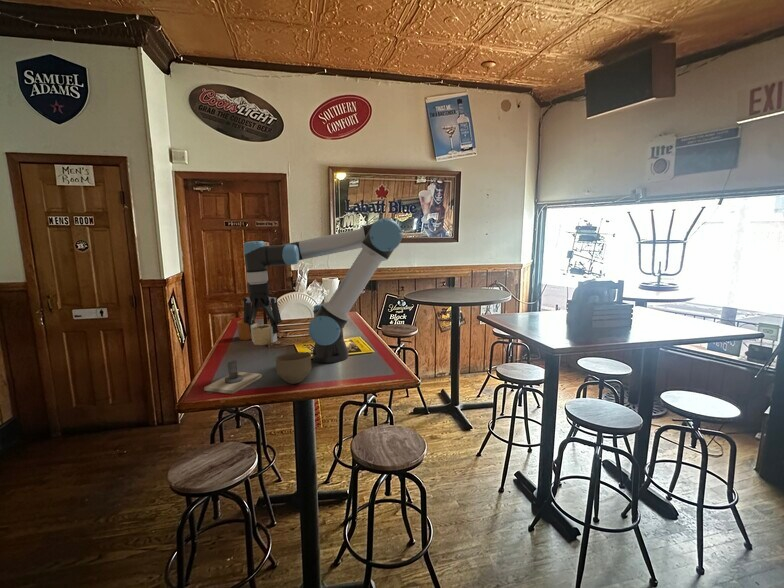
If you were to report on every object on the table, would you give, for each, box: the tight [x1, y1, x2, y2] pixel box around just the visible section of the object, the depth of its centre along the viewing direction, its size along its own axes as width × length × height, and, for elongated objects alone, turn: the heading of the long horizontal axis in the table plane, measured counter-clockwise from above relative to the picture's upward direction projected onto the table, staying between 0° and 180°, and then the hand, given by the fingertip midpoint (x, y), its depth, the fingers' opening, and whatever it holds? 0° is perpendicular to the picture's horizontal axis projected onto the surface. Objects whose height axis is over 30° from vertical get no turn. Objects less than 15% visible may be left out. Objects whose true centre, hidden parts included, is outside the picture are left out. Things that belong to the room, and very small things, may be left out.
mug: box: [236, 319, 259, 341], centre depth 209 cm, size 9×12×9 cm
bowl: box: [274, 351, 313, 385], centre depth 147 cm, size 13×13×10 cm
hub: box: [203, 360, 263, 395], centre depth 147 cm, size 12×16×8 cm
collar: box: [252, 323, 273, 346], centre depth 157 cm, size 8×8×6 cm
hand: (264, 341), depth 157 cm, fingers closed on collar, 8 cm apart
